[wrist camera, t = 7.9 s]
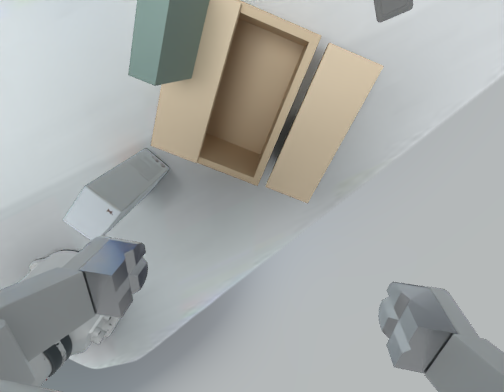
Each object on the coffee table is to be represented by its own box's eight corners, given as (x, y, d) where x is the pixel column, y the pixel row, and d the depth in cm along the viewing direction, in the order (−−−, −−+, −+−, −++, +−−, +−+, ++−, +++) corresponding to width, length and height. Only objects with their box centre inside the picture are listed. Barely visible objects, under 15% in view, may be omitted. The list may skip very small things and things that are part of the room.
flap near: (197, 161, 26) (167, 196, 20) (153, 143, 26) (107, 173, 19) (242, 4, 20) (219, -23, 13) (183, -21, 20) (130, -62, 13)
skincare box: (145, 146, 35) (84, 183, 25) (171, 167, 36) (123, 212, 26) (123, 175, 38) (59, 220, 27) (148, 194, 39) (95, 245, 28)
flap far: (265, 187, 27) (269, 161, 34) (307, 203, 27) (303, 174, 34) (329, 42, 20) (319, 46, 27) (383, 66, 21) (360, 64, 27)
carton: (263, 159, 34) (257, 186, 27) (183, 127, 33) (155, 146, 26) (312, 41, 27) (321, 35, 20) (213, -1, 27) (187, -23, 20)
